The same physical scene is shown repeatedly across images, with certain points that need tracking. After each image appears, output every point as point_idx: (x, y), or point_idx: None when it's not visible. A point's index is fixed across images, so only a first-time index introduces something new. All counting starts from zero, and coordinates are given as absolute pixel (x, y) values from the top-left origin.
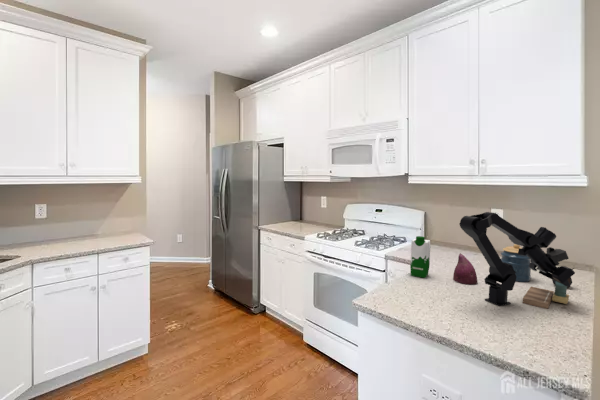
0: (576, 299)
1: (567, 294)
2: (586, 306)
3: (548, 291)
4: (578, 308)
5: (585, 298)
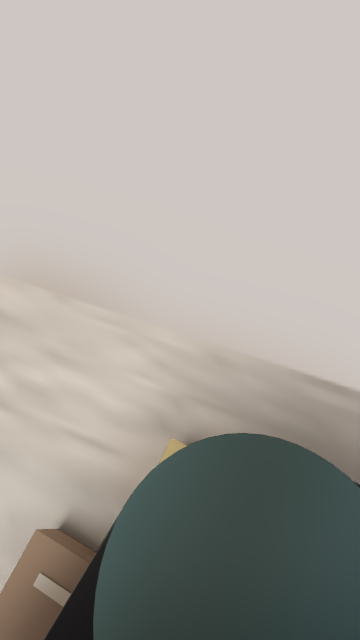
0: (106, 371)
1: (168, 450)
2: (246, 364)
3: (59, 612)
4: (337, 441)
5: (68, 310)
